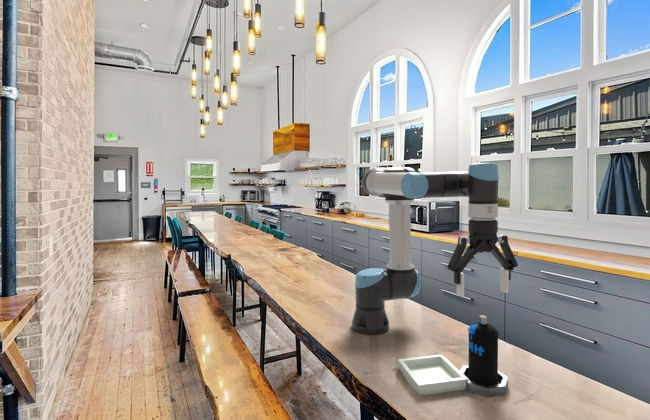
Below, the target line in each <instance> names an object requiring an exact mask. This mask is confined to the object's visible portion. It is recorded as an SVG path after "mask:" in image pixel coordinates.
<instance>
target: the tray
mask: <svg viewBox="0 0 650 420" xmlns="http://www.w3.org/2000/svg"><path fill="white" fill-rule="evenodd" d="M397 369H398V371H399V372H400V373H401V374H402V377H404V379H405V380H406V381H407V382H408V384H409V385H410V387H411V388H412V389H413V391H414V392H415V393H416V395H417V396H418V397H420V396H421V397H422V396H428V395H434V394H435V395H436V394H442V393H450V392H457V391H465V390H466V381H468V378H469V377H467V376H465V375H464V374H463V373H462V372H460V369H458V368H457V367H456V366H455V365H454V364H453V363H452V362H451V361H450V360H449V359H448V358H447V357H445V356H444V354H441V353H440V354H433V355H425V356H417V357H416V356H415V357H408V358H399V359H397Z"/></svg>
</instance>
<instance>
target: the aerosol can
mask: <svg viewBox="0 0 650 420" xmlns="http://www.w3.org/2000/svg"><path fill="white" fill-rule="evenodd" d="M467 331H468V365H469V375H468V377H467V378H468V379H469V380H470V381H471V382H475V383H479V384H482V385H486V386H490V385H497V384H499V382H498V370H499V368H498V366H499V365H498V364H499V362H498V361H499V335H500V332H499V331H498V330H497V329H496V327H494V325H492V324H490V323H488V317H487V315H483V314H481V315H479V321H478V322H474V323H472V324H470V326H468V328H467Z"/></svg>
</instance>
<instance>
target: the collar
mask: <svg viewBox="0 0 650 420" xmlns="http://www.w3.org/2000/svg"><path fill="white" fill-rule="evenodd" d="M459 371H460V372H462V373H463V374H464V375H465V376H466V377H467V376H468V377H469V364H467V365H462V367H461V368H460V369H459ZM508 388H509V377H508V376H507V375H506V374H504V372H501V371H500V370H499V369H498V384H497V385H490V386H486V385H482V384H479V383H475V382H471V381H470V380H469V379H468V381H466V389H465V390H466V391H467V392H469V393H472V394H476V395H479V396H483V397H486V398H492V397H499V396H506V394H507V391H508Z"/></svg>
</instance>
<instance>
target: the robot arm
mask: <svg viewBox="0 0 650 420" xmlns="http://www.w3.org/2000/svg"><path fill="white" fill-rule="evenodd" d="M499 180H500V177H499V166H498V165H497V163H495V162H478V163H470V164H469V166H468V171H438V172H434V171H433V172H432V171H429V172H428V171H427V172H425V171H424V172H423V171H421V172H419V171H416V170H415V169H414V168H412V167H406V166H400V167H399V166H398V167H397V166H394V167H393V166H391V167H375V168H372V169H369V170H368V171H366V172H365V174H364V175H363V177H362V179H361V186H362V188H363V191H364V192H366V193H367V194H368V195H370V196H373V197H384V201H385V202H386V203H387V204H388V224H389V225H388V227H389V228H388V233H389V235H388V237H389V239H388V241H389V242H388V243H389V244H388V245H389V262H388V263H387V264H386V265H385V271H384V269H382V268H379V267H369V268H366V269H365V268H364V269H362V270H360V271H358V272H357V273H356V274H355V283H354V287H355V288H354V289H355V310H354V314H353V316H352V319H351V328H352V330H353V331H355V332H357V333H359V334H364V335H380V334H381V335H382V334H383V333H386V332H388V331H389V330H390V321H389V318H388V314H387V312H386V310H385V309H386V308H385V305H386V304H385V303H386V302H387V301H395V300H402V299H409V298H414V297H416V296H417V295H418V294H419V292H420V290H421V284H422V279H421V276H420V272H419V270H417V269H415V267H416V266H415V265H414V264H413V263H412V254H411V253H412V252H411V249H412V248H411V244H412V243H411V240H412V237H411V236H412V235H411V232H412V231H411V204H412V203H413V202H414V201H415V200H417V199H429V198H431V199H432V198H457V197H458V198H459V197H460V198H461V197H462V198H464V197H465V198H468V214H467V215H468V218H469V219H468V229H467V230H468V237H464V236H458V238H457V245H456V246H455V249H454V251H453V253H452V255H451V258H450V260H449V262H448V264H447V266H446V269H447V270H449V271H451V272H453V282H454V285H456V295H457V296H459V297H462V298H465V273H464V272H463V271H464V269H465V268H466V267H467V266H468V265H469V263H470V261H471V260H472V259H473V257H474V256H475V255H477V254H478V253H481V254H482V253H491V254H492V255H493V256H494V258H495V259H496V260H497V262H498V263H499V264H500V265H501V266H502V267H500V268H499V291H500V292H502V293H504V294H509V291H510V289H509V288H510V285H509V283H510V282H509V281H511V280H512V279H511V278H512V271H514V270H515V268H517V267H518V266H519V264H518V262H517V260H516V257H515V255H514V253H513V251H512V249H511V246H510V245H509V239H508V235H505V234H501V233H499V234H498V235H497V233H498V232H499V231H498V230H499V221H498V219H497V218H498V216H499ZM497 242H498V243H499V246H500V248H501V250H502V252H501V250H500V249H499V247H498V246H497V245H496V244H497ZM468 244H469V245H468ZM502 253H503V254H502Z"/></svg>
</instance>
